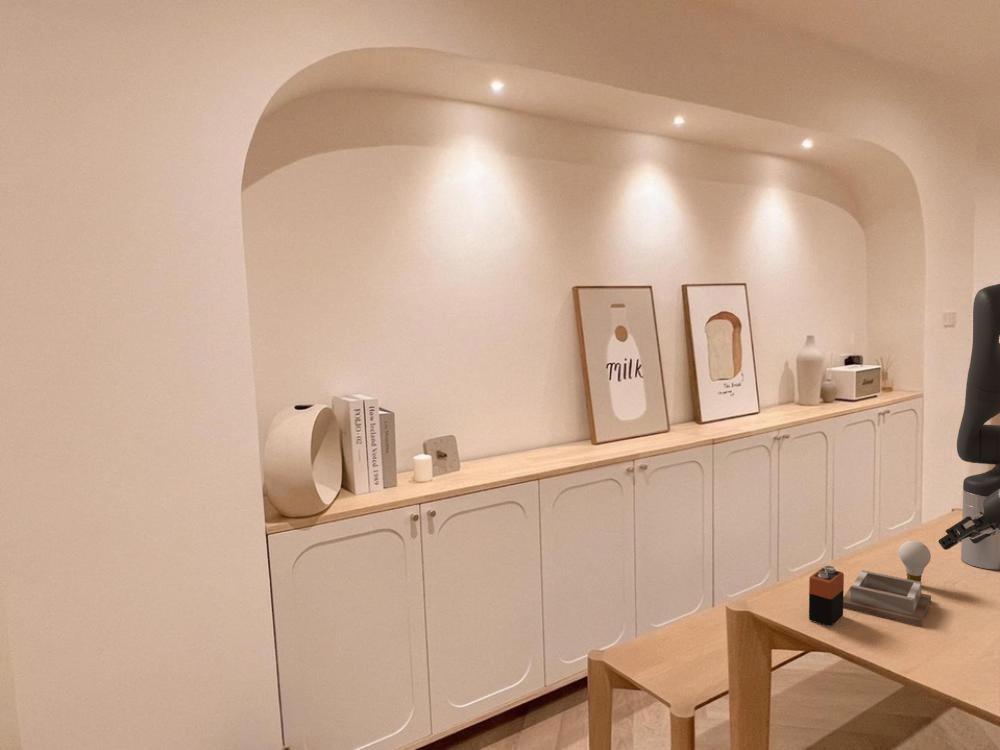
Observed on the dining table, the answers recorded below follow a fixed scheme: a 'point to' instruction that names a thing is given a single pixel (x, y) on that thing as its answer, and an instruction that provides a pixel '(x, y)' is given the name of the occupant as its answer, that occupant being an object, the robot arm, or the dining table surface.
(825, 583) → the battery
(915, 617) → the frame
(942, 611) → the dining table surface
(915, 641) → the dining table surface
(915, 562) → the light bulb
